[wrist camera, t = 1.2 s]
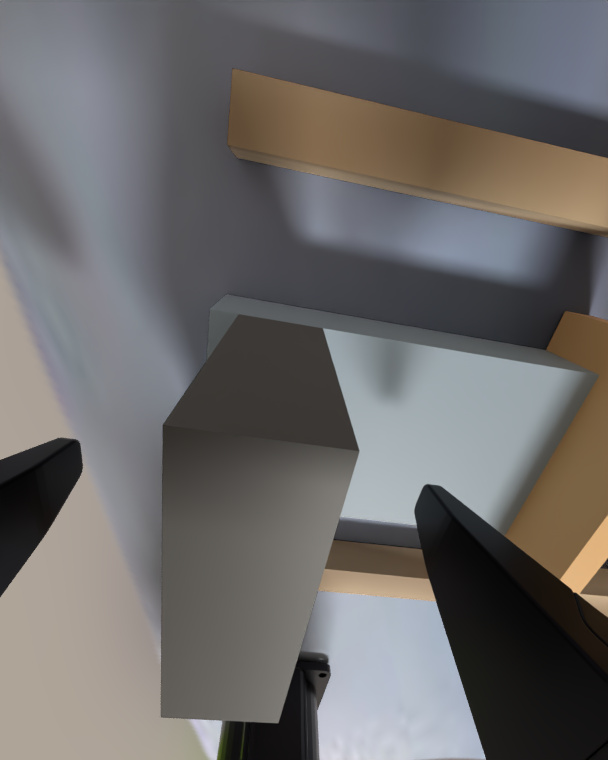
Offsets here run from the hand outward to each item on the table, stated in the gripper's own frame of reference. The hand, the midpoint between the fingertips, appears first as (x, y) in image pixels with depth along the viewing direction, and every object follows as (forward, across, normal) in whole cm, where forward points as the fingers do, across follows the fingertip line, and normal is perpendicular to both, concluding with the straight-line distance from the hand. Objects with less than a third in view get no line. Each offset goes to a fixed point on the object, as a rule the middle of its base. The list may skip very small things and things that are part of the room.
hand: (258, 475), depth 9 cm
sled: (+5, -4, 0) cm, 7 cm away
